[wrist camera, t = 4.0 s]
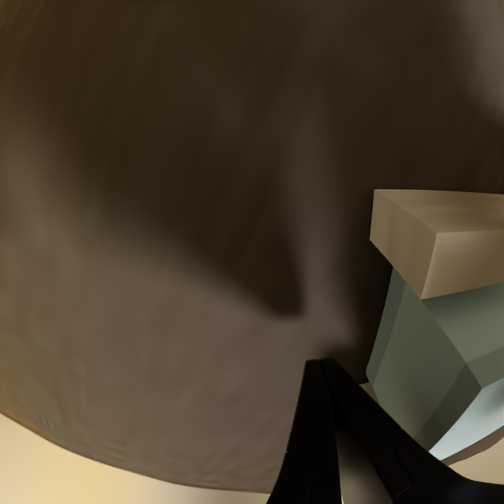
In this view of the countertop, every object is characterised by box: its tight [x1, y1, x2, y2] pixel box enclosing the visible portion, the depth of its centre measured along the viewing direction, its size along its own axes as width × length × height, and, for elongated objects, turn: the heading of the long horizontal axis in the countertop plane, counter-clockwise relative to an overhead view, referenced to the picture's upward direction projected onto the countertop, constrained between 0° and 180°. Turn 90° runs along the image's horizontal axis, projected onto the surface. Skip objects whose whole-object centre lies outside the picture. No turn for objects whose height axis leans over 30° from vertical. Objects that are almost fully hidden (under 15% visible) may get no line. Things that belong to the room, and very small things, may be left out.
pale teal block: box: [366, 267, 504, 460], centre depth 7 cm, size 6×5×5 cm
